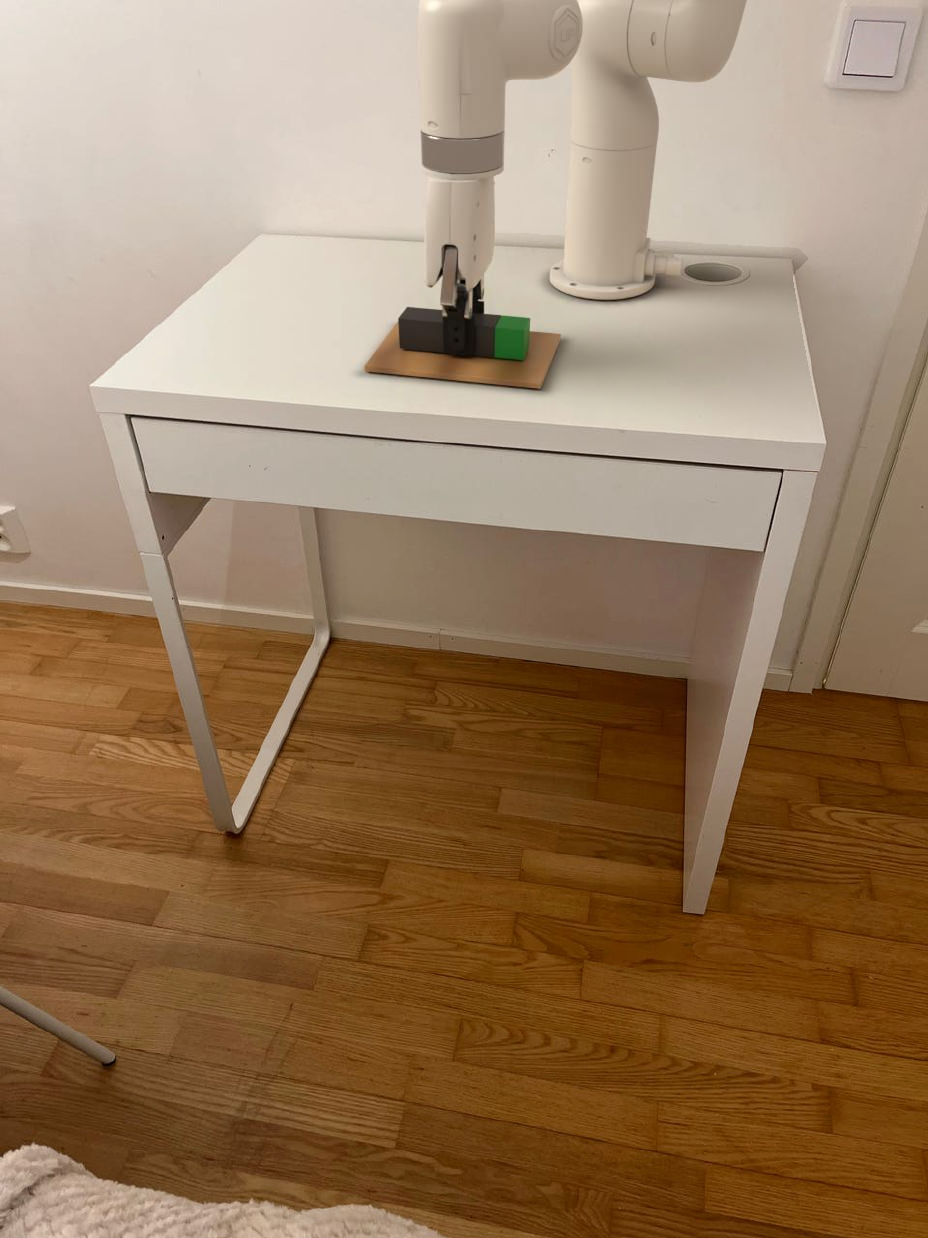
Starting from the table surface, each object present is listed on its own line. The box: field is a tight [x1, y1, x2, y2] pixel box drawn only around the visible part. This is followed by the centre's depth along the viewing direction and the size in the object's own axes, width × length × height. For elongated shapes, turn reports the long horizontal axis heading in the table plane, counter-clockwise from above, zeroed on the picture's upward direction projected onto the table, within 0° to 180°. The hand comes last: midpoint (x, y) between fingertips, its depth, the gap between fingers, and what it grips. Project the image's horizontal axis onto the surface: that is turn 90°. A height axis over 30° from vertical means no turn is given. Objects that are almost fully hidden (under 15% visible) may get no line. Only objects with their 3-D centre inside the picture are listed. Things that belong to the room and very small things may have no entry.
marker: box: [397, 306, 531, 360], centre depth 95 cm, size 13×3×3 cm, turn 76°
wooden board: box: [364, 321, 562, 390], centre depth 97 cm, size 18×12×1 cm, turn 76°
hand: (463, 344), depth 96 cm, fingers closed on marker, 3 cm apart
